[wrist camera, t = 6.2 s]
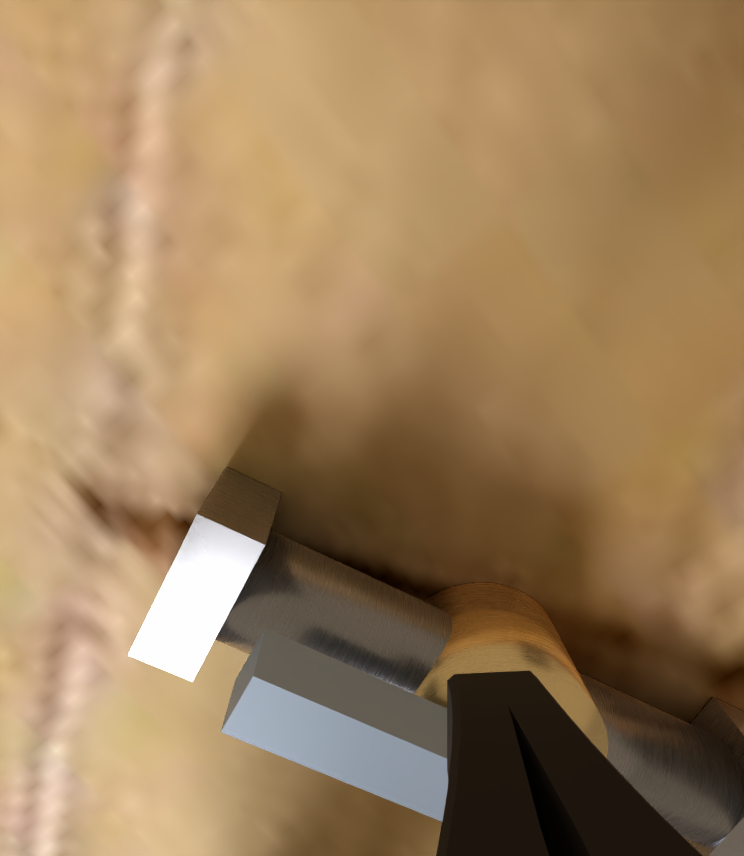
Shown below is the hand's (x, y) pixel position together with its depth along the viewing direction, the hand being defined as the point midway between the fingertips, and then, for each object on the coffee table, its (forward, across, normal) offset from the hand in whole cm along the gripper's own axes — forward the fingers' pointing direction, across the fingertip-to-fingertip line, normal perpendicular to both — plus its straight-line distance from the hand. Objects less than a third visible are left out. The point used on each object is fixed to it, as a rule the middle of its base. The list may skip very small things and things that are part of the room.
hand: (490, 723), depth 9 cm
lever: (+5, +1, +5) cm, 8 cm away
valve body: (+10, -2, +7) cm, 12 cm away
